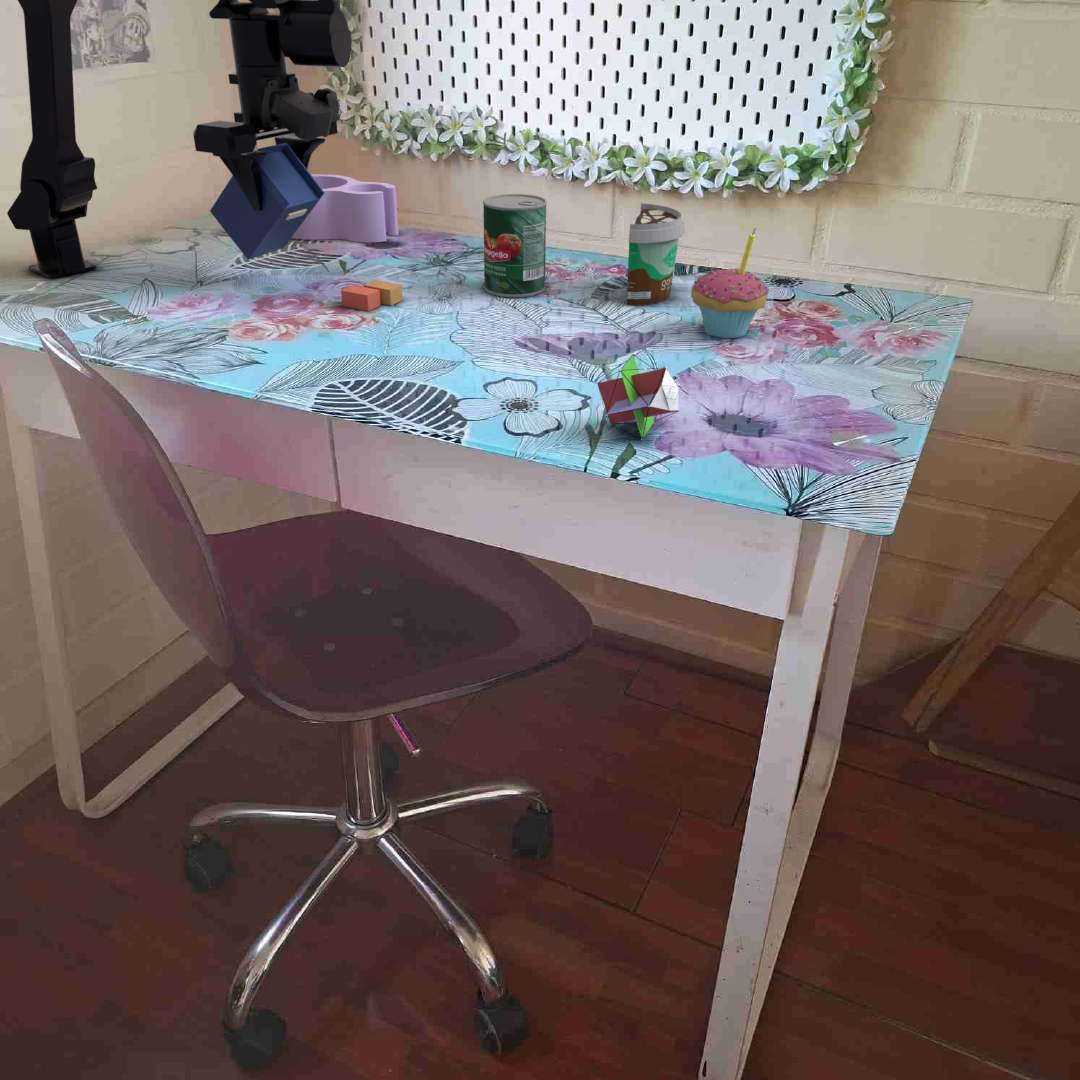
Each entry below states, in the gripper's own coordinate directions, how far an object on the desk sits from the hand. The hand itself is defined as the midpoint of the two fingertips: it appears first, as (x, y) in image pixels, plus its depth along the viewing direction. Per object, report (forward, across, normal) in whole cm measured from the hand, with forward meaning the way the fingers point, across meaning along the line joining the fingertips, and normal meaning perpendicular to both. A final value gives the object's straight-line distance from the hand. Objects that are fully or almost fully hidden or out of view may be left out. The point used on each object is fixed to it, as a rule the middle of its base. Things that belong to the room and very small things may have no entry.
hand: (277, 204), depth 121 cm
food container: (+11, +22, -42) cm, 48 cm away
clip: (+11, +26, +14) cm, 31 cm away
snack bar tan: (+8, +2, -13) cm, 16 cm away
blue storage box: (+4, 0, +6) cm, 7 cm away
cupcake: (+11, +13, -54) cm, 57 cm away
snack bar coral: (+8, -1, -12) cm, 15 cm away
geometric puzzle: (+11, -17, -56) cm, 59 cm away
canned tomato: (+11, +15, -25) cm, 31 cm away
